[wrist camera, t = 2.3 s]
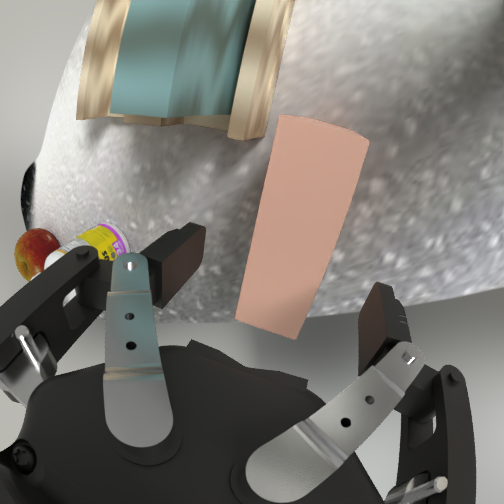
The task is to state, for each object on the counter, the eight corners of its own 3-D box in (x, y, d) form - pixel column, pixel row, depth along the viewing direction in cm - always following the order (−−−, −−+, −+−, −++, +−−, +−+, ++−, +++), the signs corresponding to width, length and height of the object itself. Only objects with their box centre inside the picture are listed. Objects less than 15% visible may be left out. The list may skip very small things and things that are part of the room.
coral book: (306, 117, 20) (279, 114, 11) (353, 131, 19) (370, 140, 10) (274, 243, 26) (234, 319, 17) (314, 256, 26) (295, 339, 16)
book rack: (131, -5, 17) (51, -25, 7) (298, -15, 14) (263, -90, 4) (108, 114, 25) (21, 132, 15) (264, 136, 22) (202, 154, 12)
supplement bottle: (131, 274, 34) (66, 333, 24) (96, 253, 35) (32, 302, 24) (134, 232, 31) (56, 291, 20) (97, 212, 31) (20, 258, 20)
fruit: (75, 254, 37) (40, 280, 30) (64, 278, 42) (34, 302, 35) (45, 210, 35) (9, 230, 29) (37, 239, 40) (6, 259, 33)
